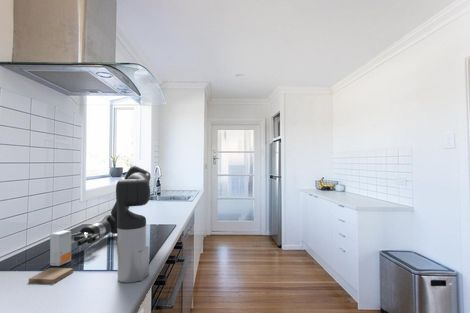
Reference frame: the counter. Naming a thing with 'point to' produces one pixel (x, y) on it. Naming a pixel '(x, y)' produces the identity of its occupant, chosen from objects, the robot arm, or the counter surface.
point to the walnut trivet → (51, 275)
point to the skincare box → (60, 248)
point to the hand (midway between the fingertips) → (68, 243)
